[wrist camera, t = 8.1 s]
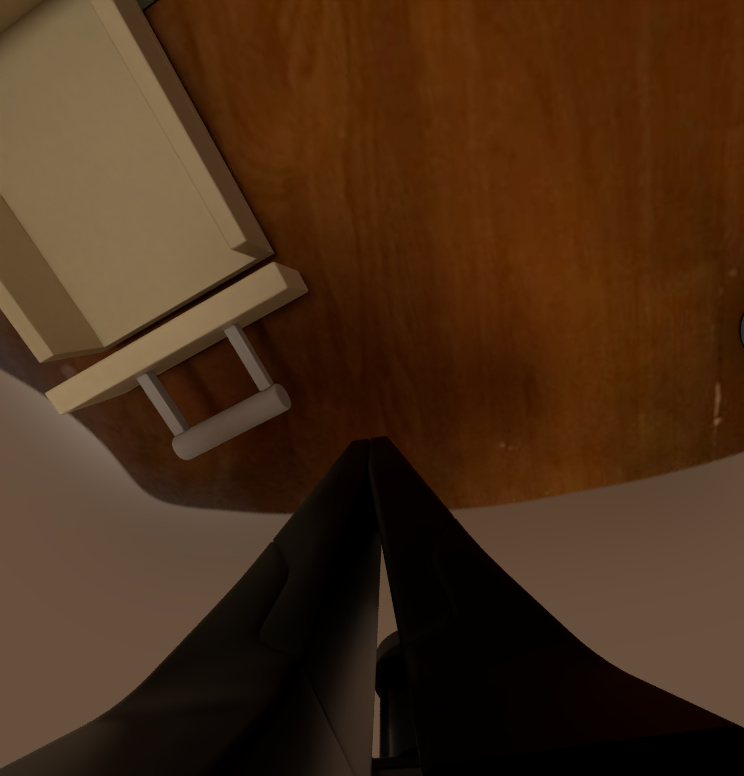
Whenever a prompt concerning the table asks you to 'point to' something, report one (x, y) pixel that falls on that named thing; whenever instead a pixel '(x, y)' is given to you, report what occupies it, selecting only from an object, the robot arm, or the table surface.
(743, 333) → the canister
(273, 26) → the table surface
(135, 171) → the drawer
